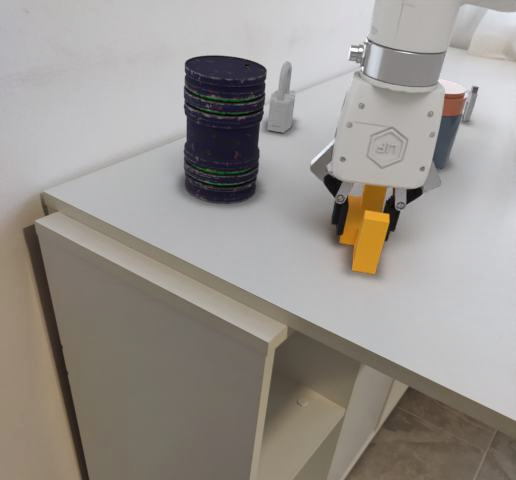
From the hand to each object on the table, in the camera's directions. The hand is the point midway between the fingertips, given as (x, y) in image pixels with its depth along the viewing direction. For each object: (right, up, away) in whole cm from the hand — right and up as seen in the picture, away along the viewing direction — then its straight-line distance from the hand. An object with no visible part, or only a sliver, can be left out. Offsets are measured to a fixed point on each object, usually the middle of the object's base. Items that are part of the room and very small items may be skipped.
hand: (361, 231), depth 63 cm
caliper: (+29, +35, +47) cm, 65 cm away
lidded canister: (+14, +17, +24) cm, 32 cm away
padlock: (-8, +24, +29) cm, 39 cm away
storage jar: (-17, +8, +9) cm, 21 cm away
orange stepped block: (0, -1, +1) cm, 2 cm away
